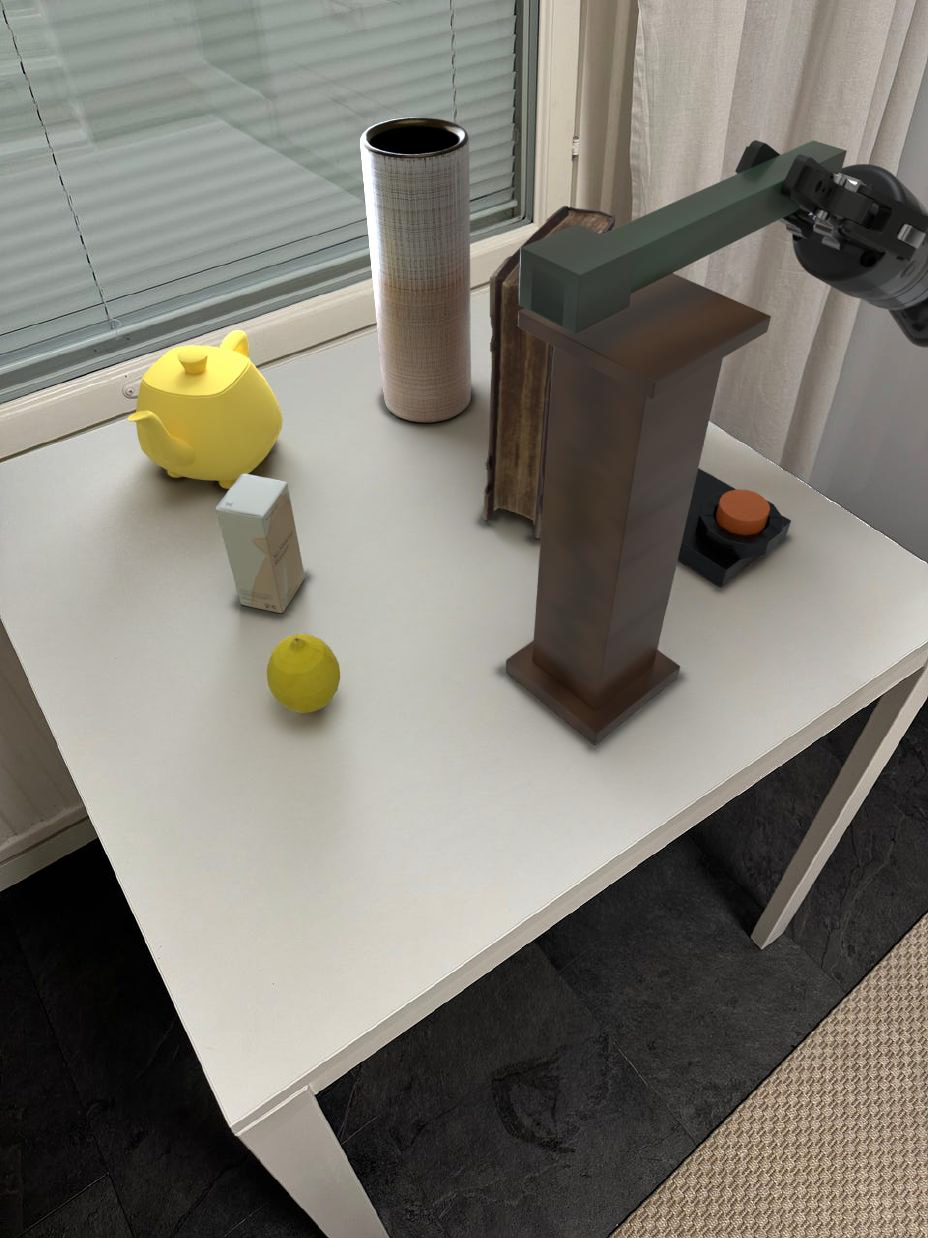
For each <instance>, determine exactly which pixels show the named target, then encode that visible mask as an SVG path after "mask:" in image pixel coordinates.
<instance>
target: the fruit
mask: <svg viewBox="0 0 928 1238" xmlns="http://www.w3.org/2000/svg"><path fill="white" fill-rule="evenodd" d="M340 679H341V671H340V664H339V661H338V658H337V656H336V655H335V653H334V652H333V650H332V649H331V647H330V646H329V645H328V644H327V643H325V642H324V641H323V640H322V639H320V638H318V637H317V636H314V635H310V634H307V633H297V634H296V633H295V634H292V635H289V636H287V637H285V638H283V639H282V640H281V641H280V642H278V643H277V645H276V646H275V647H274V649H273V650H272V652H271V653H270V656H269V659H268V663H267V667H266V680H267V686H268V688H269V690H270V692H271V694H272V696H273V698H275V700H276V701H277V702H278V703H279V704H280V705H282V706H283V707H285V708H286V709H288V710H289V711H292V712H296V713H300V714H308V713H312V712H316V711H319V710H320V709H322V708H324V707H326V706H327V705H328V704H329V703H330V702H331V701H332V700H333V698H334V696H335V694H336V693H337V691H338V689H339V686H340V681H341V680H340Z"/></svg>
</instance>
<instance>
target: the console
mask: <svg viewBox="0 0 928 1238" xmlns="http://www.w3.org/2000/svg"><path fill="white" fill-rule="evenodd" d="M732 490H738V489H737V488H735V487H733V486H731V485H730V484H728V483H726V482H724V481H722V480H721V479H719V478H718V477H716V476H715V475H712V474H710V473H709V472H707V471H705V470H704V469H702V468H700V467H698V472H697V476H696V480H695V485H694V489H693V494H692V498H691V503H690V507H689V512H688V516H687V520H686V525H685V529H684V534H683V538H682V543H681V547H680V551H679V556H678V560H677V562H680V563H681V564H683V565H685V566H686V567H688V568H689V569H691V570H692V571H694V572H695V573H697V574H698V575H700V576H701V577H703V578H705V579H706V580H708V581H709V582H711V583H712V584H714V585H715V586H717V587H718V588H723V587H724V586H725V585H727V584H728V583H729V582H730V581H732V580H733V579H734V578H736V577H737V576H739V575H740V574H741V573H742V572H744V571H745V570H746V569H747V568H749V567H750V566H751V565H753V564H754V563H755V562H756V561H758V560H759V559H760V558H762V557H765V556H766V555H767V554H769V553H770V552H771V551H772V550H774V549H775V548H776V547H777V546H778V545H779V544H780V543H781V542H783V541H784V540H785V539H786V538H787V536H788V532H789V530H790V526H791V524H792V520H791V519H790V518H788V517H786V516H784V515H782V513H781V512H780V511H779V509H778V508H777V506H776V505H775V504H774V503H773V502H771V501H769V500H767V502H768V503H769V506H770V511H769V514H768V518H767V521H766V524H765V527H764V528H763V530H762V531H760V532H759V533H757V534H752V535H741V534H736V533H731V532H729V531H727V530H726V529H724V528H722V527H721V526H720V525H719V524H718V522H717V520H716V513H717V509H718V505H719V501H720V498H721V497H722V496H723V495H724V494H725V493H726V492H729V491H732Z"/></svg>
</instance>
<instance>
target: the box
mask: <svg viewBox="0 0 928 1238" xmlns="http://www.w3.org/2000/svg"><path fill="white" fill-rule="evenodd" d="M289 490H290V489H289V484H288V482H287V481H283V480H280V479H279V480H278V479H274V478H269V477H265V476H259V475H253V474H250V473H248V474H242V475H241V476H240V477H239V478H238V480H237V481H236V482H235V483H234V485H233V486H232V487H231V488H230V489H228V491H227V492H226V493H225V495H224V496H223V498H222V499H221V500H220V501H219V503H218V505H217V506H216V507H215V512H216V515H217V520H218V524H219V527H220V532H221V535H222V539H223V543H224V546H225V550H226V554H227V558H228V562H229V565H230V570H231V573H232V577H233V581H234V584H235V588H236V592H237V596H238V600H239V603H240V605H243V606H247V607H250V608H254V609H259V610H263V611H268V612H269V611H270V612H272V613H279V614H282V613H283V614H284V612H285V611H286V609H287V608H288V606H289V605H290V603H291V601H292V600H293V598H294V597H295V595H296V593H297V591H298V590H299V588H300V587H301V585H302V583H303V582H304V580H305V577H306V575H305V571H304V570H305V569H304V566H303V561H302V555H301V547H300V543H299V538H298V533H297V528H296V523H295V516H294V512H293V506H292V501H291V495H290V491H289Z"/></svg>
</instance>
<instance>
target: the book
mask: <svg viewBox="0 0 928 1238" xmlns="http://www.w3.org/2000/svg"><path fill="white" fill-rule="evenodd" d="M615 223H616V216H615V214H609V213H607V212H605V211H602V210H596V209H589V208H580V207H579V208H577V207H573V206H567V205H562V206H561V207H560V208H558V209H557V210H556V211H554V212H553V213H552V214H551V215H550V216H549V217H547V218H546V219H545V222H544V223H543V224H542V225H541V226H540V227H539V228H538V229H537V230H536V231H535V232H533V234H532V235H531V236H529V237H528V239H526V241H525V242H524V243H522V244H521V246H520V247H519V248H518V249H517V250H516V251H515V252H514V253H513V254H512V255H509V256H508V257H506V258H505V259H504V260H502V262H501V263H500V264H499V265H498V267H497V268H496V269H495V270H494V271H493V273H492V274H491V275H490V276H489V318H490V326H491V339H490V342H489V352H491V372H490V393H489V396H490V397H489V398H490V399H489V421H488V422H489V424H488V448H487V458H486V462H485V463H484V464H485V470H486V484H485V487H484V492H483V510H482V512H483V513H482V518H483V520H484V521H488V520H489V519H490V518H491V516H492V515H493V514H494V512H495V511H497V510H498V509H501V510H507V511H509V512H513V513H515V514H519V515H521V516H524V518H525V517H526V518H527V519H528V520H529V519H530V520H531V521H532V522H533V523H532V524H533V526H534V530H533V537H534V538H535V539H541V526H542V511H543V497H544V482H545V468H546V453H547V439H548V424H549V410H550V395H551V381H552V366H553V352H554V346H552V345H550V344H548V343H547V342H545V341H543V340H541V339H539V338H537V337H535V336H533V335H532V334H530V333H528V332H526V331H524V330H522V329H520V328H519V327H518V314H519V311H521V310H523V309H525V308H524V307H522V306H520V305H519V287H520V254H521V248H522V247H524V246H527V245H529V244H531V243H533V242H536V241H538V240H540V239H543V238H545V237H547V236H550V235H552V234H554V233H557V232H559V231H561V230H564V229H566V228H568V227H571V226H573V225H575V224H578V225H581V226H583V227H585V228H588V229H590V230H592V231H595V232H597V233H600V234H604V233H606V232H609V231H611V230H613V229H615Z"/></svg>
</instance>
